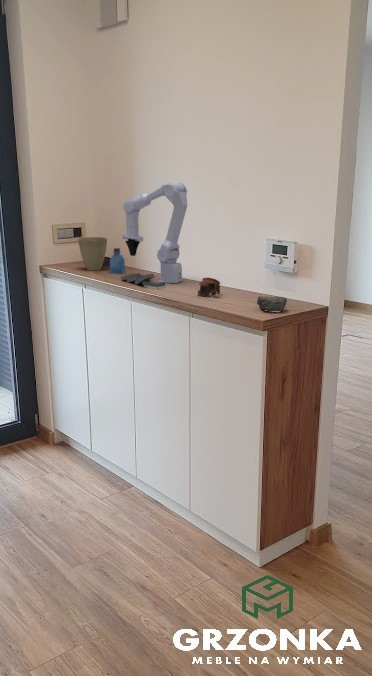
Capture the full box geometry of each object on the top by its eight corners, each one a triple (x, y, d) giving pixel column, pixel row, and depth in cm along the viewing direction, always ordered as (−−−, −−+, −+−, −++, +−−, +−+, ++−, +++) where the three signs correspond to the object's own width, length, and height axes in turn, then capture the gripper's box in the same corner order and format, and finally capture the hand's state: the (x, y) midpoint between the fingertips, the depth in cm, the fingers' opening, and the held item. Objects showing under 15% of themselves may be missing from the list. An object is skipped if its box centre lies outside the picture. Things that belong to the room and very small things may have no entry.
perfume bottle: (124, 271, 299) (124, 248, 295) (122, 273, 293) (121, 249, 289) (112, 271, 299) (112, 247, 296) (110, 273, 293) (109, 249, 290)
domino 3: (134, 281, 262) (143, 275, 255) (143, 279, 265) (153, 273, 258) (135, 284, 262) (144, 278, 255) (144, 283, 265) (154, 277, 258)
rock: (291, 311, 213) (292, 297, 211) (272, 315, 207) (273, 301, 205) (266, 305, 222) (267, 292, 221) (247, 309, 216) (248, 295, 215)
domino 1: (120, 277, 273) (130, 274, 265) (130, 276, 276) (140, 273, 268) (121, 280, 273) (131, 277, 265) (130, 279, 276) (140, 276, 268)
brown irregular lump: (191, 296, 241) (196, 277, 243) (209, 304, 246) (214, 285, 248) (207, 293, 231) (213, 273, 233) (226, 301, 236) (231, 282, 237)
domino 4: (142, 281, 258) (156, 283, 252) (150, 279, 262) (165, 282, 256) (142, 284, 259) (156, 287, 253) (151, 283, 262) (165, 285, 256)
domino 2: (126, 279, 269) (136, 276, 261) (136, 277, 271) (145, 275, 264) (127, 282, 269) (136, 279, 261) (136, 281, 271) (146, 278, 264)
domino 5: (143, 284, 258) (156, 287, 252) (152, 283, 262) (165, 286, 255) (143, 288, 259) (156, 291, 252) (153, 287, 262) (165, 290, 255)
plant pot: (77, 268, 310) (76, 237, 306) (105, 266, 314) (104, 236, 310) (81, 272, 296) (79, 240, 292) (110, 271, 300) (109, 239, 296)
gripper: (116, 225, 278) (117, 254, 282) (134, 227, 268) (134, 257, 271) (129, 225, 283) (129, 253, 286) (146, 227, 272) (147, 256, 276)
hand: (133, 255), depth 279 cm, fingers closed
